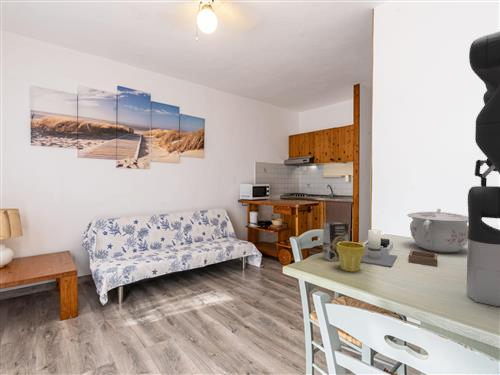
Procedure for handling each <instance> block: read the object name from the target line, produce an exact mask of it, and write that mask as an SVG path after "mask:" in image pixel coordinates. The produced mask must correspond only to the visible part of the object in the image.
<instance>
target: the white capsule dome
mask: <svg viewBox="0 0 500 375" xmlns="http://www.w3.org/2000/svg"><path fill="white" fill-rule="evenodd" d="M367 231H368V233H367V234H368V235H367V237H368V238H367V240H368V257H369V258H372V259H380V251H381V247H382V246H381V237H382V236H381V235H382V231H381V230H379V229H368V230H367Z"/></svg>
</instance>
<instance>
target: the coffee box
mask: <svg viewBox="0 0 500 375" xmlns="http://www.w3.org/2000/svg"><path fill="white" fill-rule="evenodd" d="M322 230H323V235H322V236H323V237H322V238H323V240H322V258H323V259H324V260H327V261H329V262H337V261H338V262H340V259H339V254H338V252H337V243H338V242H349V223H347V222H343V221H342V222H341V221H328V222H326V221H325V222H323V228H322Z"/></svg>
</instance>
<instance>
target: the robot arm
mask: <svg viewBox="0 0 500 375" xmlns="http://www.w3.org/2000/svg"><path fill="white" fill-rule="evenodd" d="M469 47H470V48H469V53H468V54H469V55H468V59H469V60H468V62H469V65H470V67H471V70H472V71H473V73H474V74H475V75H476V76H477V77H478V78H479V79H480V80H481V81H482V82H483V84H484V85H485V88H486V91H485V93H483V98H482V99H483V100H482V101H483V104H484V105H483V107H482V108H481V109H480V111H479V112H478V115H477V116H476V119H475V131H474V132H475V134H474V137H475V143H476V146H477V147H478V149H479V150H480V151H481V153H483V155H484V156H486V160H483V159H477V160H476V161H475V167H474V176H475V177H479V178H480V186H479V185H477V186H475V185H474V186H472V187H470V188H469V190H468V193H467V215H468V216H467V217H468V220H469V222H468V223H467V225H468V242H467V252H466V253H467V254H466V256H467V257H466V290H465V291H466V296H467V297H468V298H470V299H471V300H473V301H474V302H477V303H481V304H486V305H491V306H495V307H500V229H498V228H496V227H493V226H492V225H489V224H487V223H486V222H484V221H483V220H482V219H483V218H485V219H486V218H487V219H499V220H500V186H498V185H497V186H496V185H495V186H491V185H488V186H487V180H488V179H487V176H488V175H490V174H491V172H498V174H499V175H500V31H497V32H493V33H489V34H487V35H483V36H479V37H478V38H476V39H474V40H473V41H472V42H471V44H470V46H469ZM484 164H486V165H487V169H486V170H485V171H484V172H483V173H481V167H482V166H484Z"/></svg>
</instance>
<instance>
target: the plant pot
mask: <svg viewBox="0 0 500 375" xmlns="http://www.w3.org/2000/svg"><path fill="white" fill-rule="evenodd" d="M337 252H338V254H339V259H340V261H339V263H340V269H341V270H343V271H347V272H354V273H355V272H359V270H360V266H361V259H362V256H363V255H364V252H365V246H364V245H363V243H359V242H354V241H348V242H338V243H337Z"/></svg>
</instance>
